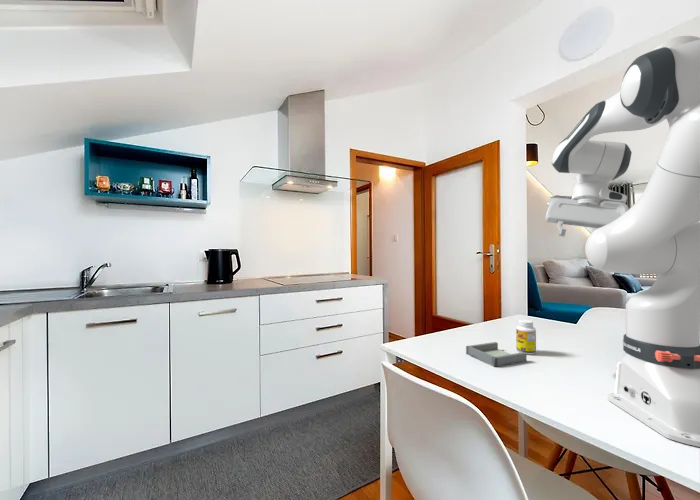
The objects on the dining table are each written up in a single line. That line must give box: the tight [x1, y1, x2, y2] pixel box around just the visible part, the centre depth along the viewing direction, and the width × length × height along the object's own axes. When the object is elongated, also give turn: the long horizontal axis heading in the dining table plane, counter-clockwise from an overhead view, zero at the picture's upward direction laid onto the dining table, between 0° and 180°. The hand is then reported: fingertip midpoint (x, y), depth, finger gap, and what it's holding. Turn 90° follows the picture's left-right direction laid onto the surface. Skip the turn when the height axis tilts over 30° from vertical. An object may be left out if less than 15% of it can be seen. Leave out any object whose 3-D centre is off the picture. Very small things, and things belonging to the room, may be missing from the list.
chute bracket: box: [465, 341, 527, 368], centre depth 96 cm, size 12×12×2 cm
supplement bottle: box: [515, 319, 537, 356], centre depth 100 cm, size 6×6×10 cm
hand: (580, 238), depth 93 cm, fingers open, 8 cm apart
